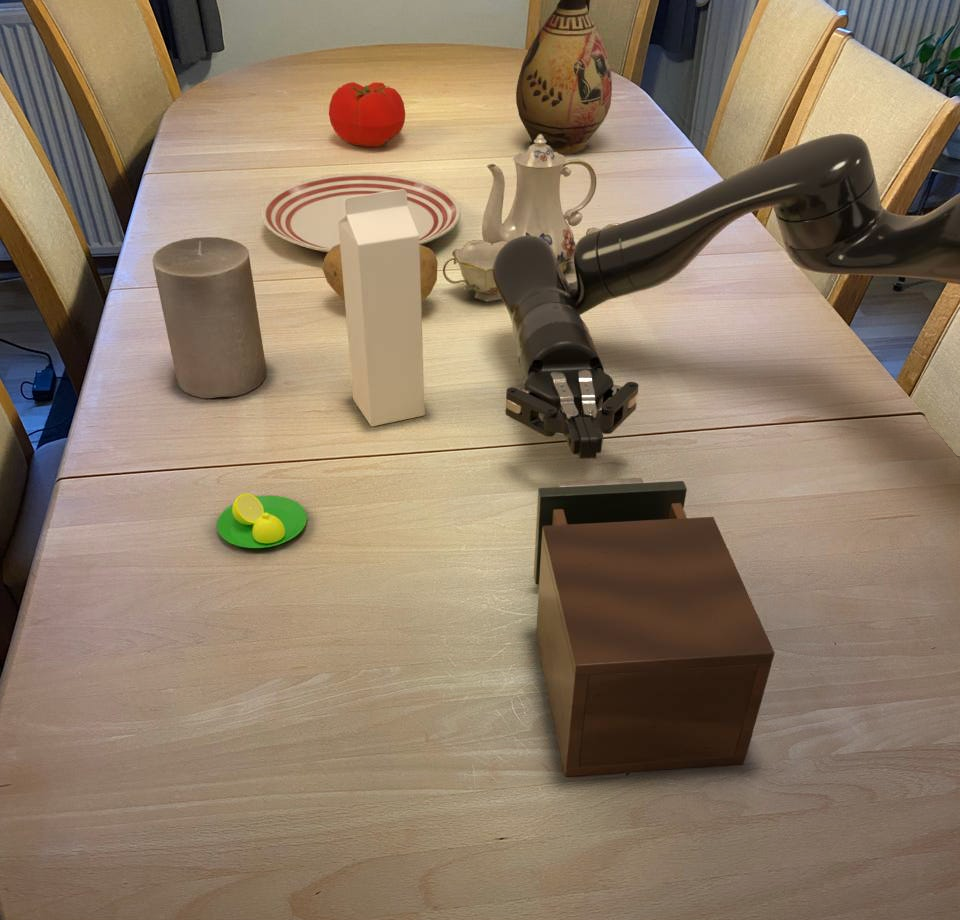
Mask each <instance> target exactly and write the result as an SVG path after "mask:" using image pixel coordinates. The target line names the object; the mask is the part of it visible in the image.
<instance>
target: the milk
mask: <svg viewBox="0 0 960 920" xmlns="http://www.w3.org/2000/svg"><path fill="white" fill-rule="evenodd" d="M345 209H346V215H345V216H344V217H343V218H342V219H341V220H340V221H339V222H338V227H339V239H340V251H341V262H342V274H343V285H344V297H345V301H344V307H345V319H346V331H347V332H346V333H347V341H348V342H347V343H348V354H349V365H350V367H349V368H350V378H351V389H352V400H353V402H354V403H355V404H356V406H357V407H358V409H359V410H360V412H361V414H362V416H364V418H365V419H366V421H367V423H368V424H369V425H370V427H377V426H381V425H386V424H390V423H391V424H392V423H396V422H400V421H405V420H409V419H413V418H419V417H424V416H425V415H426V410H425V409H426V408H425V407H426V405H425V403H426V402H425V378H424V377H425V375H424V348H423V346H424V345H423V344H424V343H423V317H422V316H423V315H422V314H423V313H422V303H421V283H420V252H419V234H418V231H417V229H416V226H415V224H414V221H413V219H412V216H411V214H410V211H409V209H408V206H407V192H406V191H405V190H404V189H401V190H394V191H387V192H380V193H373V194H366V195H359V196H353V197H347V198H346V200H345Z"/></svg>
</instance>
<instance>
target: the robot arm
mask: <svg viewBox="0 0 960 920" xmlns="http://www.w3.org/2000/svg"><path fill="white" fill-rule="evenodd" d="M770 207H772V208H773V211H774V212H773V213H774V214H775V218H776V221H777V224H778V227H779V231H780V234H781V237H782V241H783V244H784V248H785V250H786V253H787V254H788V256H789V258H790V259H791V261H792V263H793V264H795V265H796V266H797V267H799V268H801V269H803V270H805V271H810V272H814V273H820V274H830V275H850V276H851V275H852V276H853V275H854V276H875V277H876V276H877V277H879V276H880V277H898V278H907V279H917V280H923V281H931V282H939V283H940V282H941V283H947V284H953V285H960V192H958V193H957V194H955V195H954V196H952V197H951V198H950V199H948V200H947V201H946V202H944V203H943V204H941V205H939V207H937V208H935V209H933V210H932V211H930V212H928V213H925V214H923V215H921V214H920V215H902V214H898V213H897V214H896V213H892V212H889V211H888V210H887V209H885V208H884V207H883V205H882V201H881V197H880V191H879V188H878V183H877V178H876V175H875V169H874V165H873V161H872V157H871V153H870V149H869V147H868V145H867V143H866V142H865V140H864V139H863V138H862V137H859V136H857V135H856V134H852V133H836V134H830V135H825V136H821V137H818V138H815V139H811V140H808V141H806V142H803V143H801V144H798V145H796V146H793V147H791V148H789V149H787V150H785V151H783V152H781V153H778V154H776V155H774V156H772V157H770V158H767V159H766V160H764V161H760V163H756V164H755V165H753V166H751V167H749V168H746V169H744V170H742V171H739V172H738V173H736V174H733V175H731V176H730V177H728V178H726V179H724V180H721V181H719V182H718V183H716V184H714V185H712V186H709V187H708V188H707V187H706V189H703V190H701V191H699V192H698V193H695V194H693V195H691V196H690V197H687V198H685V199H683V200H680V201H679V202H677V203H675V204H672V205H670V206H668V207H665V208H663V209H660V210H658V211H655V212H652V213H650V214H647V215H644V216H642V217H638V218H634V219H632V220H628V221H625V222H622V223H619V224H618V225H615V226H612V227H609V228H606V229H603V230H602V229H601V230H600V231H596V232H593V233H591V234H588V235H586V234H585V235H584V236H582V237H581V238H580V239H578V241H577V242H576V243H575V244H576V247H575V251H574V257H573V264H574V272H575V273H574V274H575V277H576V280H575V281H571V282H568V280H567V278H566V276H565V274H564V272H563V271H562V269H561V267H560V265H559V263H558V261H557V258H556V256H555V254H554V252H553V250H552V248H551V247H550V245H549V244H548V243H547V242H546V241H544V240H543V239H541V238H539V237H536V236H520V237H517V238H514V239H512V240H511V241H509V242H508V243H506V244H505V245H504V246H503V247H502V248H501V249H500V251H499V252H498V254H497V256H496V258H495V260H494V263H493V270H492V273H493V279H494V282H495V284H496V286H497V289H498V291H499V293H500V295H501V300H502V302H503V304H504V306H505V309H506V310H507V313H508V315H509V318H510V321H511V326H512V332H513V336H514V339H515V342H516V354H517V362H518V366H519V368H520V370H521V373H522V375H523V380H524V383H523V389H520V388H518V387H514V386H512V387H508V388H506V390H505V415H506V417H508V418H511V419H512V420H514V421H516V422H518V423H520V424H522V425H524V426H525V427H528V428H529V429H531V430H533V431H535V432H537V433H539V434H541V435H542V436H544V437H549V438H551V437H555V436H556V435H557V434H560V435H562V436H563V438H564V439H566V443H567V447H568V449H569V452H570V453H571V455H577V457H578V460H593V459H594V460H595V459H597V454H601V452H602V450H603V441H604V435H610V434H612V433H613V432H614V431H616V429H617V428H619V426H621V424H622V423H624V421H626V419H628V418H629V417H630V416H631V415H632V414H633V413H634V412H635V411H636V410H637V402H638V395H639V383H638V382H635V381H628V382H626V383H625V384H624V385H622V386H621V385H617V384H615V383H614V379H613V378H612V376H611V375H609V374H607V373H606V372H605V370H604V369H605V368H604V366H603V363H602V360H601V357H600V354H599V352H598V350H597V347H596V345H595V342H594V340H593V338H592V337H593V336H592V335H591V332H590V330H589V327H588V326H587V324H586V323H585V321H584V320H583V318H582V317H581V315H583V314H585V313H587V312H588V311H590V310H592V309H594V308H595V307H598V306H599V305H601V304H603V303H605V302H607V301H610V300H613V299H617V298H620V297H624V296H628V295H631V294H635V293H638V292H642V291H646V290H648V289H651V288H654V287H657V286H660V285H662V284H664V283H667V282H669V281H670V280H671V279H673V278H675V277H676V276H677V275H678V274H680V273H681V272H682V271H684V270H685V269H686V268H687V267H688V266H689V265H690V264H691V263H692V262H693V261H694V260H695V259H696V258H697V256H699V254H700V253H701V252H702V251H703V250H704V249H705V248H706V246H708V245H709V243H710V242H711V241H713V239H715V238H716V237H717V236H718V235H719V234H720V233H721V232H722V231H723V230H724V229H726V227H728V226H729V225H731V224H732V223H733V222H735V221H737V220H738V219H740V218H742V217H745V216H746V215H748V214H751V213H753V212H756V211H759V210H762V209H766V208H770ZM540 415H542V416H543V419H541V417H540Z"/></svg>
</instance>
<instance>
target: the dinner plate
mask: <svg viewBox="0 0 960 920" xmlns="http://www.w3.org/2000/svg"><path fill="white" fill-rule="evenodd" d="M401 189H404V190H405V191H406V192H407V206H408V209H409V211H410V214H411V216H412V219H413V221H414V224H415V226H416V229H417V231H418V234H419V244H420V245H425V244H427V243H430V242H432V241H435V240H437V239H439V238H441V237H443V236H444V235H446V234H447V233H449V232H450V231H451V230H453V229H454V227H456V225H458V222H459V221H460V218H461V212H462V211H461V206H460V204H459V202H458V201H457V199H456V198H455V197H454V196H453V195H452V194H450V193H449V192H448V191H446V190H445V189H443V188H441V187H439V186H437V185H435V184H432V183H429V182H427V181H423V180H420V179H415V178H412V177H406V176H401V175H396V174H387V173H373V172H359V173H358V172H357V173H356V172H355V173H354V172H353V173H352V172H351V173H341V174H340V173H339V174H334V175H333V174H332V175H326V176H320V177H316V178H310V179H307V180H304V181H300V182H297V183H294V184H291V185H289V186H287V187H285V188H283V189H281V190H279V191H278V192H276V193H274V194H272V196H270V197H269V198H268V199H267V200H266V201H265V202H264V204H263V205H262V208H261V211H260V212H261V213H260V214H261V216H260V217H261V220H262V222H263V224H264V226H265V227H266V228H267V229H268V230H269V231H271V233H272V234H274V235H276V236H277V237H279V238H280V239H283V240H284V241H287V242H289V243H291V244H295V245H297V246H300V247H303V248H307V249H309V250H314V251H318V252H323V253H328V252H329V251H330V250H331V249H332V248H333V247H334V246H336V245H338V244H340V239H339V227H338V222H339V221H340V220H341V219H342V218H343V217H344V216H345V215H346V209H345V200H346V198H347V197H353V196H359V195H366V194H373V193H380V192H387V191H394V190H401Z"/></svg>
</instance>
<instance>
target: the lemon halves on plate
mask: <svg viewBox="0 0 960 920" xmlns="http://www.w3.org/2000/svg"><path fill="white" fill-rule="evenodd" d="M307 519H308V516H307V513H306V510H305V509H304V507H303V506H302V505H301V504H299V503H298V501H295V500H293V499H291V498H288V497H285V496H279V495H256V496H255V495H253V494H251V493H249V492H244V493H240V494H239V495H238V496H237V497H236V498H235V499H234V501H233V503H232V504H231V505H229V506H228V507H227V508H225V510H223V511H222V512H221V513H220V515H219V517H218V519H217V522H216V528H217V529H216V530H217V532H218V534H219V536H220V537H221V538H222V539H224V540H225V541H226V542H228V543H230V544H231V545H234V546H237V547H240V548H246V549H247V548H248V549H262V548H263V549H265V548H271V547H274V546H275V547H276V546H278V545H281V544H284V543H286V542H288V541H290V540H292V539H293V538H295V537H296V536H298V535H299V534H300V533H301V532H302V531H303V529H304V528H305V526H306V523H307Z"/></svg>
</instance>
